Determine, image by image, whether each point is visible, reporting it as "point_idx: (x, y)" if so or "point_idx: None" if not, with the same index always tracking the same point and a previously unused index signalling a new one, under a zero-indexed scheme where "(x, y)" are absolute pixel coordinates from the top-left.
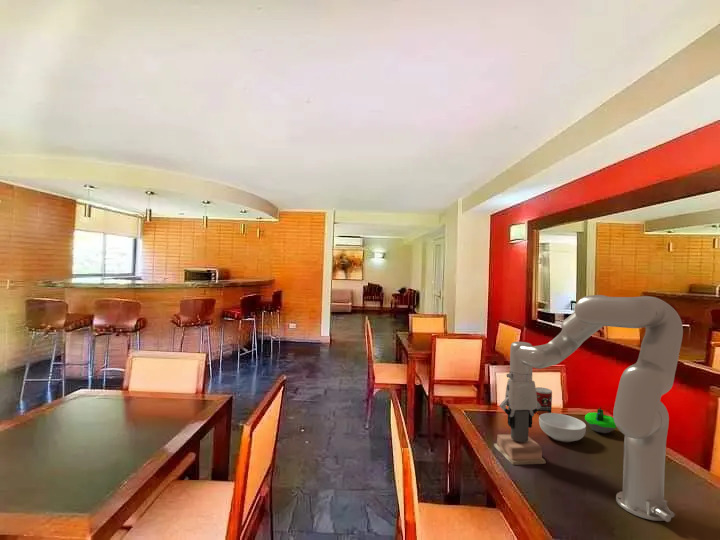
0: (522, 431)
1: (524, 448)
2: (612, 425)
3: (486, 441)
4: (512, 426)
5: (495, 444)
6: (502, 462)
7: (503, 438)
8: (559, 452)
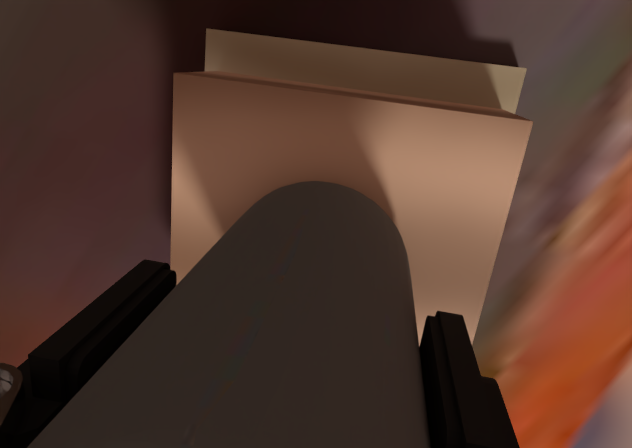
0: (336, 224)
1: (381, 99)
2: None
3: None
4: (462, 334)
5: None
6: (578, 128)
7: None
8: (3, 169)
